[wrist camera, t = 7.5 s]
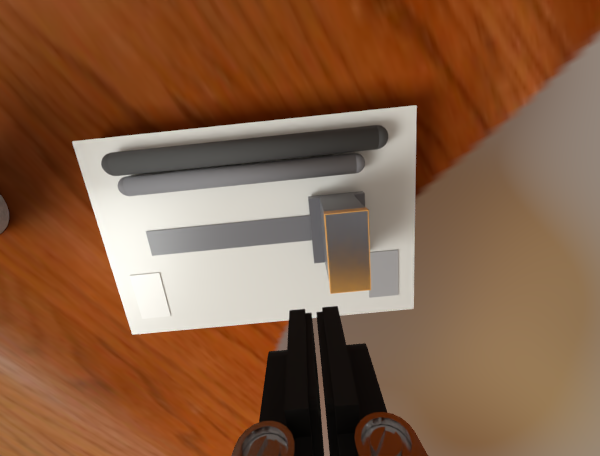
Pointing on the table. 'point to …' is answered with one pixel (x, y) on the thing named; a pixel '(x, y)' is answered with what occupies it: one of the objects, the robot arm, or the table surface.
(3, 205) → the house plant
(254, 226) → the base
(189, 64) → the table surface
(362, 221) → the handle
